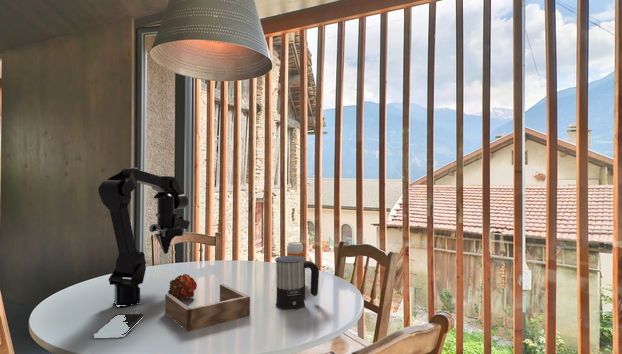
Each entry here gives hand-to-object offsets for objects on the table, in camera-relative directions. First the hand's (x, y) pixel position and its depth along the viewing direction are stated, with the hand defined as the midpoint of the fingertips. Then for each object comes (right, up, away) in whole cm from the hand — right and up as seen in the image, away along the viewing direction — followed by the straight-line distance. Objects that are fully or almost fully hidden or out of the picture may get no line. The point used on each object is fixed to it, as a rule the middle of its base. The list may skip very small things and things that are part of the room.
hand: (165, 253), depth 141 cm
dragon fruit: (+11, -12, -13) cm, 21 cm away
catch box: (+22, -12, -28) cm, 38 cm away
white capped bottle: (+47, -12, +5) cm, 49 cm away
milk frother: (+46, -12, -16) cm, 51 cm away
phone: (+2, -13, -38) cm, 40 cm away
